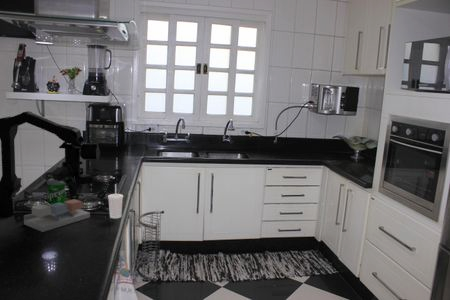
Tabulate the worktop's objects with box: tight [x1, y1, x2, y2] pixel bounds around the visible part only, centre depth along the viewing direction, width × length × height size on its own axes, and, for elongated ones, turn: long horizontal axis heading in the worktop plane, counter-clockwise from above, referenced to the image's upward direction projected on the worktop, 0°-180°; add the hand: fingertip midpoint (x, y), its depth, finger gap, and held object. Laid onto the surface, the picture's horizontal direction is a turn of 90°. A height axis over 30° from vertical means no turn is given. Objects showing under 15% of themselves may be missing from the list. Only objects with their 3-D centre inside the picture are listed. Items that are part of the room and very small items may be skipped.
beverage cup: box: [107, 183, 124, 219], centre depth 166 cm, size 6×6×14 cm
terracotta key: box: [64, 198, 83, 211], centre depth 164 cm, size 5×5×3 cm
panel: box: [23, 209, 91, 233], centre depth 159 cm, size 12×21×4 cm, turn 147°
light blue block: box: [48, 202, 67, 215], centre depth 158 cm, size 5×5×3 cm
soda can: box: [46, 177, 67, 204], centre depth 176 cm, size 8×8×12 cm
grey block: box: [31, 203, 51, 217], centre depth 152 cm, size 5×5×3 cm
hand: (73, 196), depth 163 cm, fingers closed
